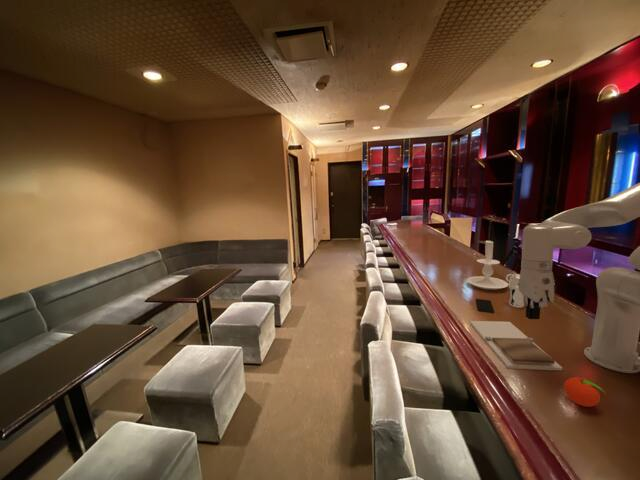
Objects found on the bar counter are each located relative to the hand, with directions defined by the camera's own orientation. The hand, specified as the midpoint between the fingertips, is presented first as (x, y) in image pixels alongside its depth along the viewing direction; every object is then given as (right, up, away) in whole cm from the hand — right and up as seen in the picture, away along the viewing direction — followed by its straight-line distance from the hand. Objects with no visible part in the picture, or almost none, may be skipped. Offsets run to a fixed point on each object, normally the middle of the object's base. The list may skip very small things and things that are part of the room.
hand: (532, 317), depth 85 cm
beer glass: (+27, -7, +43) cm, 52 cm away
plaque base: (+2, -14, +14) cm, 19 cm away
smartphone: (+13, -8, +45) cm, 47 cm away
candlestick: (+31, -2, +68) cm, 74 cm away
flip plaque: (+1, -12, +6) cm, 14 cm away
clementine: (+2, -19, -15) cm, 24 cm away
